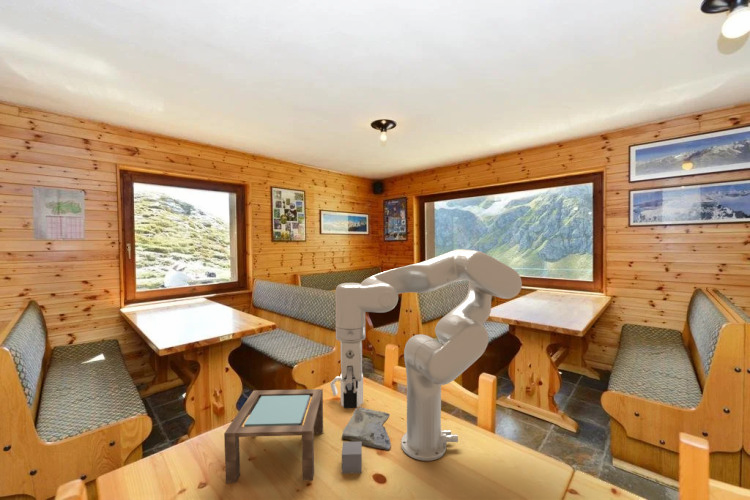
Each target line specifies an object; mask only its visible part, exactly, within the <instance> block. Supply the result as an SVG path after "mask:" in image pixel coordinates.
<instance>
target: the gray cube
mask: <svg viewBox="0 0 750 500" xmlns="http://www.w3.org/2000/svg"><path fill="white" fill-rule="evenodd" d="M362 447H363V444H362V441H360V442H354V441H343V442H342V447H341V448H342V449H341V474H362V471H363V470H362V469H363V467H362V466H363V464H362V463H363V461H362V459H363V457H362V456H363V454H362V452H363V450H362Z"/></svg>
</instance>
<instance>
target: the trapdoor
mask: <svg viewBox="0 0 750 500" xmlns="http://www.w3.org/2000/svg"><path fill="white" fill-rule="evenodd" d="M311 399H312V397H311V396H310V395H292V396H261V398H260V399H259V401H258V403H257V404H256V406H255V408H254V409H253V411H252V413H251V412H250V414H249V415H248V417H247V418H246V420H245V422H244V423H243V425H244V426H243V427H255V426H296V425H303V424H304V423H303V422H304V421H305V418H306V415H307V411H308V408H309V405H310V404H309V403H310V402H311Z"/></svg>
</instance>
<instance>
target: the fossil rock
mask: <svg viewBox="0 0 750 500" xmlns="http://www.w3.org/2000/svg"><path fill="white" fill-rule="evenodd" d="M389 417H390V413H388V412H385V411H380V410H374V409H370V408H365V407H362V406H359V407H357V408H354V411H353V412H352V415H351V417H350V419H349V420H348V423H347V425H345V427H344V429H343V430H342V436H341V438H342V439H343V438H344V439H347V440H349V441H350V442H360V441H362V445H364V446H367V447H372V448H377V449H381V450H386V451H389V450H390V449H391V446H392V443H391V440H390V436H389V434H388V431H387V428H386V427H385V426H384V425H383V424H384V423H385V422H386V421H387V420H388V419H389Z"/></svg>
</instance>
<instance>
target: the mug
mask: <svg viewBox="0 0 750 500" xmlns="http://www.w3.org/2000/svg"><path fill="white" fill-rule="evenodd" d="M337 381H340V406H341V407H343V408H344V394H343V392H344V383H345V381H344V382H343V381H342V373H340V376H339V375H337V376H335V378H334V379H333V380H332V381H331V382H330V384H329V385H330V388H331V391H332V395H333V396H334V397H335V396H337V395H338V393H339V391H338V388H337V386H336V382H337ZM356 391H357V408H360V407H361V406H362V405H363V404H364V374H363V373H362V380H361V381H360V382H359V381H358V388H357V389H356ZM361 404H362V405H361ZM347 409H349V410H350V409H352V408H347Z"/></svg>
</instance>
